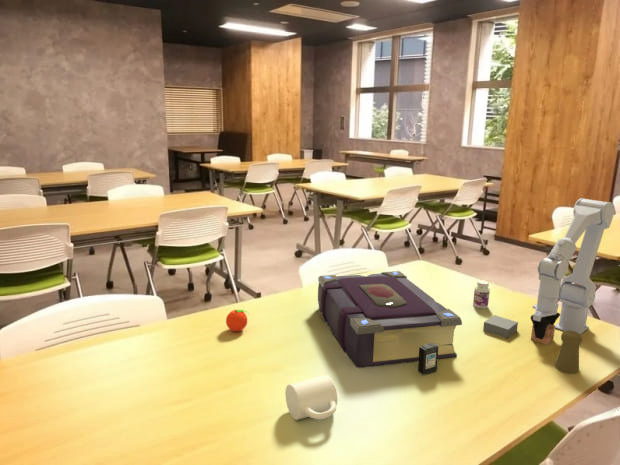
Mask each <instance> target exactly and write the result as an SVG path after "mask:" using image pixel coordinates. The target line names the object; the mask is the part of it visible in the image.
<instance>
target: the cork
mask: <svg viewBox="0 0 620 465" xmlns="http://www.w3.org/2000/svg"><path fill="white" fill-rule="evenodd" d="M560 339H561V345H560V349H559V352H558V353H557V354H558V355H557V358H556V361H555V364H554V366H555V369H557V370H558V371H560V372H562V373H566V374H569V375H570V374H571V375H572V374H573V375H574V374H575V375H577V374H579V372H580V346H581V345H582V343H583V336H582V334H579V333H577V332H575V331H563V332H562V333H561V335H560Z"/></svg>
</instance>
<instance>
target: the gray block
mask: <svg viewBox="0 0 620 465" xmlns="http://www.w3.org/2000/svg"><path fill="white" fill-rule="evenodd" d="M518 324H519V322H518V321H515V320H512V319H509V318H505V317H502V316H499V315H495V314H494V315H492V316H491V317H490V318H488V319H486V320H484V322H483V328H482V329H483V332H486V333H489V334H493V335H495V336H498V337H502V338H504V339H509V338H510V337H511V336H512V335H514V334H515V333H517V331H518V327H519V326H518Z"/></svg>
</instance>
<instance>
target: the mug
mask: <svg viewBox="0 0 620 465" xmlns="http://www.w3.org/2000/svg"><path fill="white" fill-rule="evenodd" d="M284 392H285V394H284V395H285V402H286V407H287V409H288V412H289V414H290V416H291V417H292V419H294V420H296V421H299V420H301V419H305V418H311V419H315V420H323V419H327V418H329V417H331V416H332V415H334V413H335V412H336V411H337V405H338V392H337V388H336V385H335V383H334V381H333V379H332V378H331V377H330V376H329V375H327V374H324V375H319V376H317V377H316V376H315V377H312V378H309V379H308V378H307V379H304V380H300V381H297V382H294V383H289V384H287V385H286V387H285V391H284Z"/></svg>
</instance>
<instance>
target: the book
mask: <svg viewBox="0 0 620 465" xmlns="http://www.w3.org/2000/svg"><path fill="white" fill-rule="evenodd" d="M317 279H318V287H317V304H318V310H319V311H320V314H321V318H322V319H323V321H324V322H325V323H326V324H327V326H328V328H329V330H330V332H331V334H332V336H333V337H334V338H335V341H337V343H338V345H339V346H340V348H341V349H342V351H343V352H344V353H346V355H347V356H348V358H349V360H351V363H352V364H353V365H354V366H355V368H359V369H360V368H361V369H363V368H373V367H382V366H390V365H398V364H409V363H416V362H419V348H420V346H422V345H426V344H428V343H434V344H436V345H437V346H439V347H438V360H442V359H443V360H444V359H452V358H453V359H454V358H457V356H458V355H457V353H456V352H455V346H454V335H455V329H456V328H457V326H462V324H463V321H462V318H461V317H460V316H459V315H458V314H456V313H455V312H454V311H452V309H450V308H446V307H445V306H444V305H442V304H441V303H439V302H437V301H435V299H434V298H433V297H431V296H430V295H429V294H427V293H426V292H425V291H424V290H422V289H421V288H420V287H419V286H417V285H416V284H415V283H413V282H412V281H411V280H410V279H408V276H407V275H405V274H404V273H402V272H401V271H399V270H397V271H396V270H395V271H383V272H381V273H372V274H369V275H367V276H366V275H361V274H353V275H335V274H330V275H329V274H328V275H320V276H318V278H317Z"/></svg>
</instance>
